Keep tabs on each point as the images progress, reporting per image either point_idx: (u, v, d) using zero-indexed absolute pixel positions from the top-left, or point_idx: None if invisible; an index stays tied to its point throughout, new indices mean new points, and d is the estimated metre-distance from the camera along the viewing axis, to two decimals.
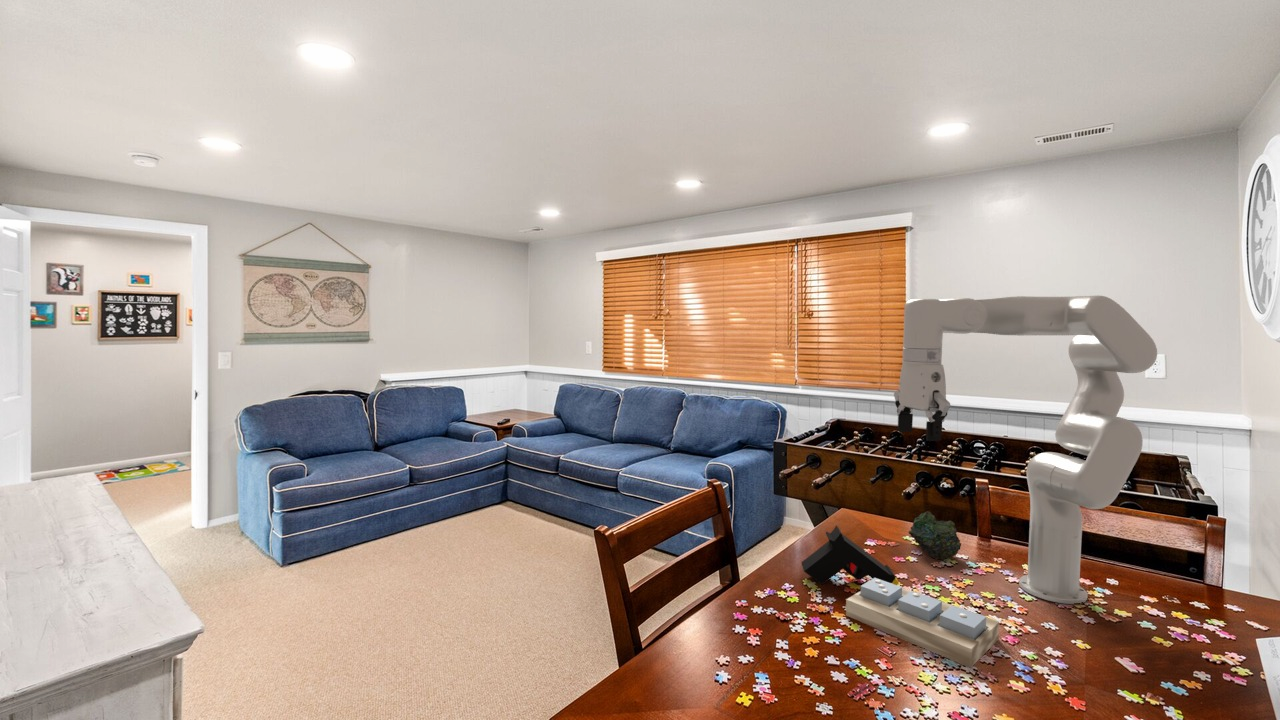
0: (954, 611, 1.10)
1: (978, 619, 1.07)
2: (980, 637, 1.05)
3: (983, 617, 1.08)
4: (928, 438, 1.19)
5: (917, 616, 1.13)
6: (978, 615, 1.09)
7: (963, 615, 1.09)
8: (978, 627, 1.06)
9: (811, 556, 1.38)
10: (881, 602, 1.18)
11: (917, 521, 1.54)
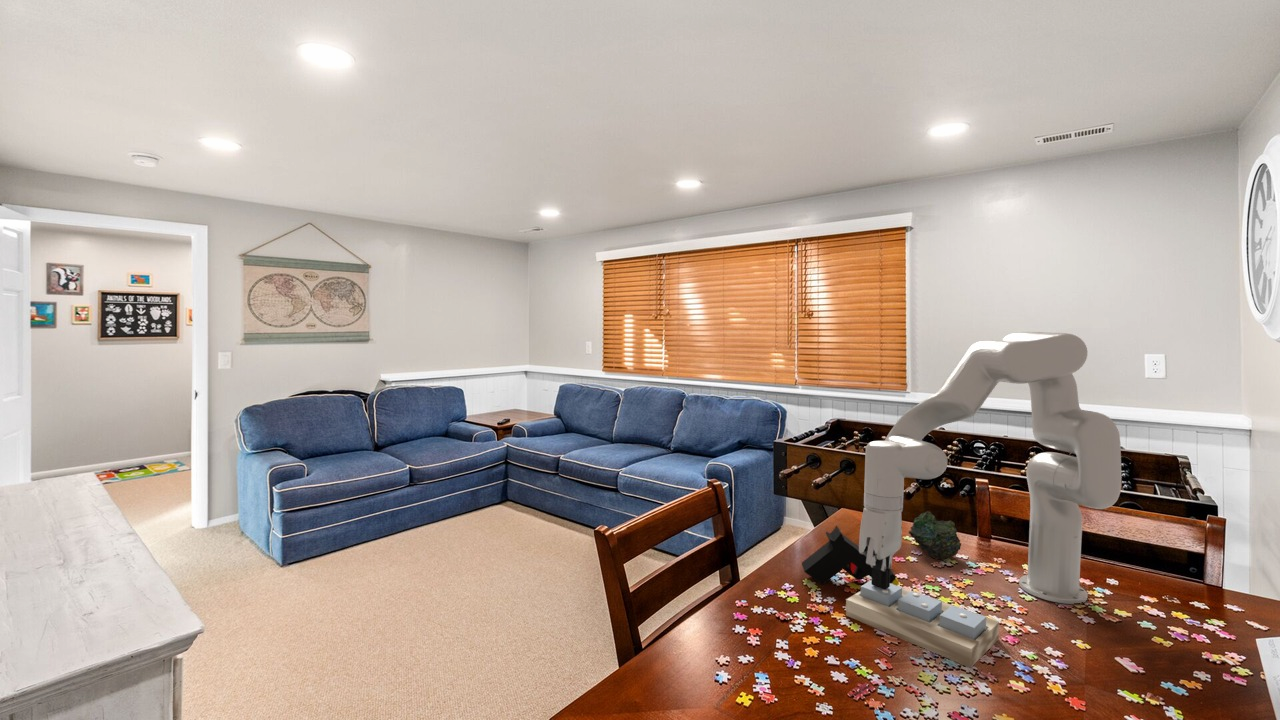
0: (954, 611, 1.10)
1: (978, 619, 1.07)
2: (980, 637, 1.05)
3: (983, 617, 1.08)
4: None
5: (917, 616, 1.13)
6: (978, 615, 1.09)
7: (963, 615, 1.09)
8: (978, 627, 1.06)
9: (811, 556, 1.38)
10: (881, 602, 1.18)
11: (917, 521, 1.54)
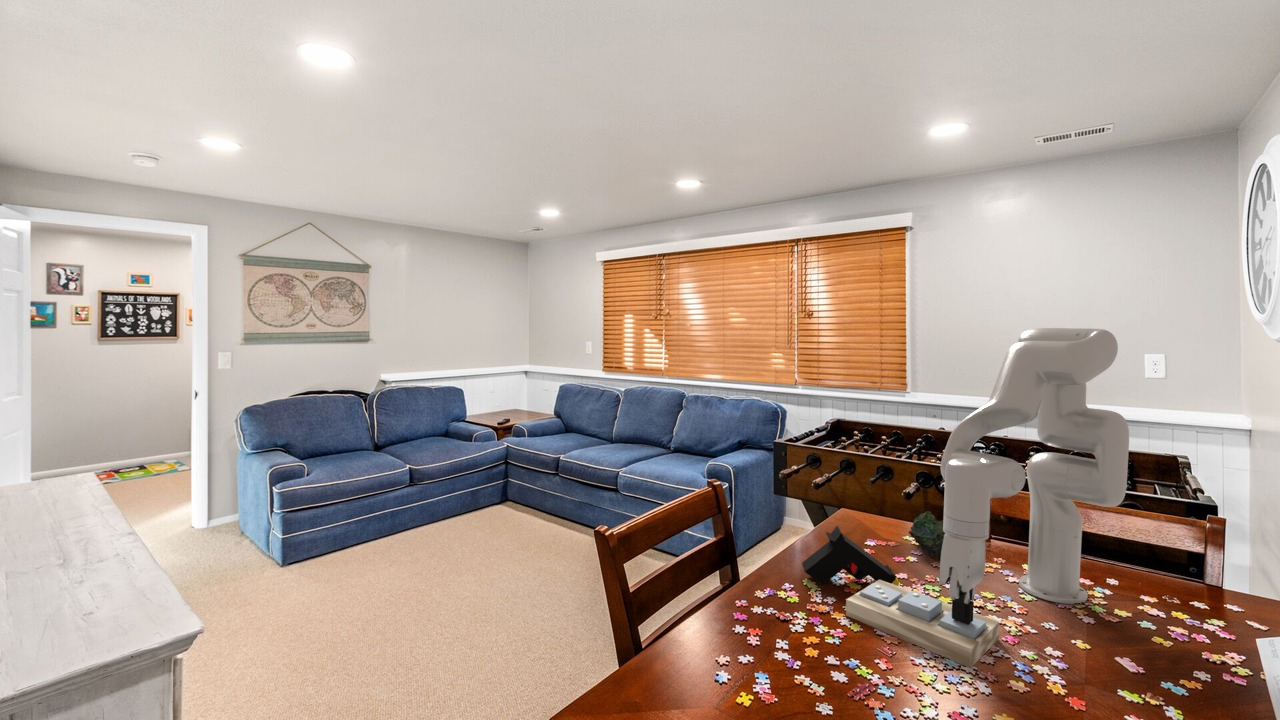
0: None
1: (978, 624, 1.08)
2: (980, 637, 1.05)
3: (983, 622, 1.08)
4: None
5: (917, 616, 1.13)
6: (978, 620, 1.09)
7: None
8: (977, 632, 1.06)
9: (811, 556, 1.38)
10: None
11: (917, 521, 1.54)
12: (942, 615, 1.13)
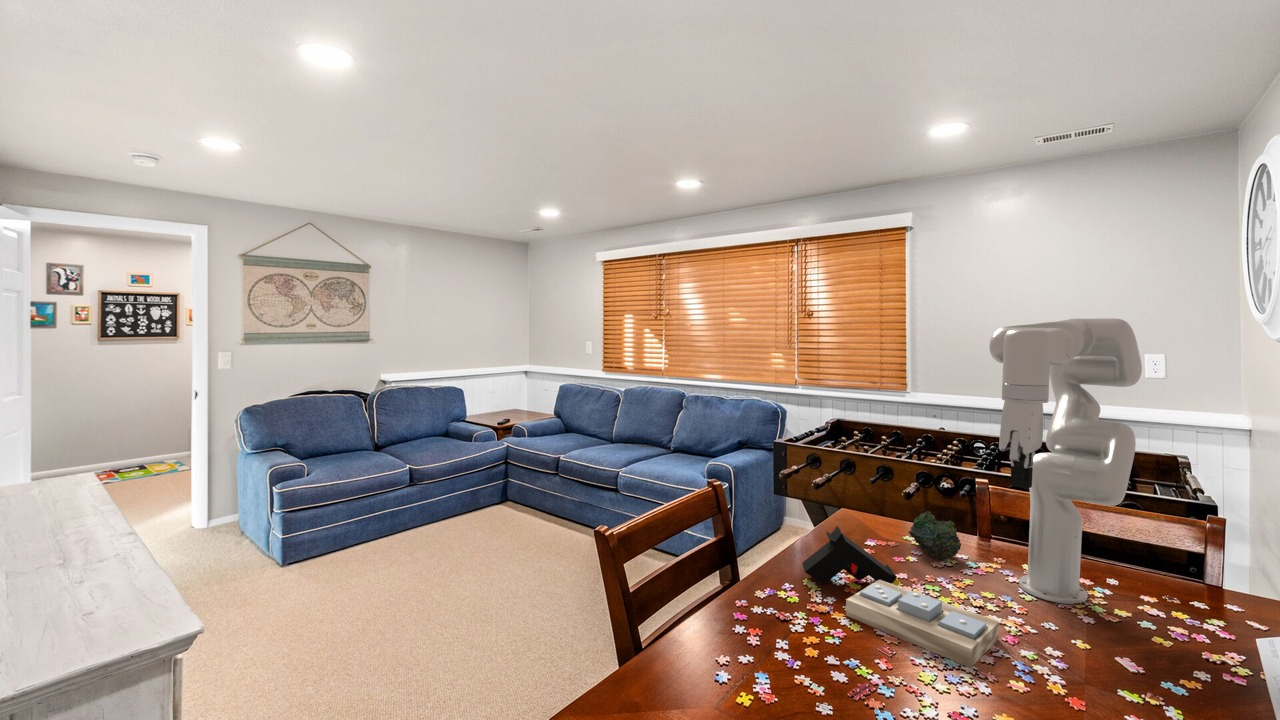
0: (954, 618, 1.11)
1: (978, 626, 1.08)
2: (980, 637, 1.05)
3: (983, 623, 1.08)
4: None
5: (917, 616, 1.13)
6: (978, 621, 1.09)
7: (963, 621, 1.09)
8: (977, 634, 1.06)
9: (812, 556, 1.38)
10: None
11: (917, 521, 1.54)
12: (942, 615, 1.13)
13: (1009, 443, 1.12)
